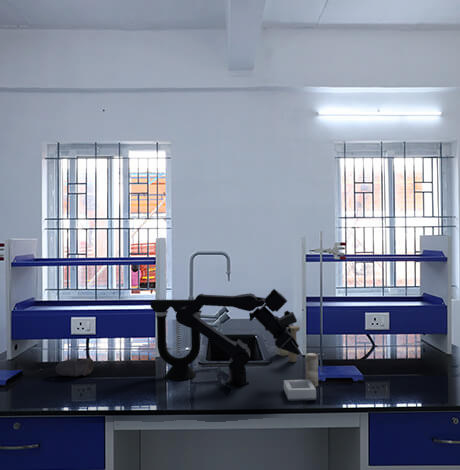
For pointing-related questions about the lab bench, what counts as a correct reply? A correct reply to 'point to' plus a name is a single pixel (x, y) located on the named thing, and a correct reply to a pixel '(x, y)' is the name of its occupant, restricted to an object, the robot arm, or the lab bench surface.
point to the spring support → (179, 365)
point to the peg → (312, 368)
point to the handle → (293, 331)
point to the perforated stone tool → (75, 367)
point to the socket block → (299, 390)
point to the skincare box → (281, 352)
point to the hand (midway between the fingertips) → (298, 350)
